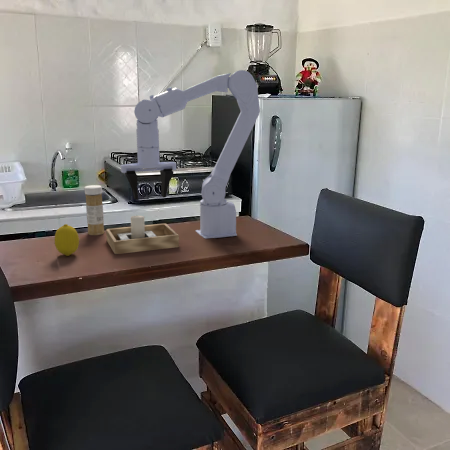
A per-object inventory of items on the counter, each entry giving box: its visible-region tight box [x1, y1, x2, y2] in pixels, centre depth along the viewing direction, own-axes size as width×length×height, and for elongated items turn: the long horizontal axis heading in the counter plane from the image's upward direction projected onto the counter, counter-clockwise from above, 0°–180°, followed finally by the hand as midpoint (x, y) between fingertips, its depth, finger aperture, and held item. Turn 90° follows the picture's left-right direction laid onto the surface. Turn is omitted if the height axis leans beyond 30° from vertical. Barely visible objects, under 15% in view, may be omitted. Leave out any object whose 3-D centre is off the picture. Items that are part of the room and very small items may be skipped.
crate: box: [105, 223, 180, 255], centre depth 129 cm, size 16×12×4 cm
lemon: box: [54, 223, 80, 257], centre depth 119 cm, size 6×6×8 cm
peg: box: [130, 215, 146, 239], centre depth 128 cm, size 3×3×7 cm
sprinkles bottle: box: [84, 184, 106, 236], centre depth 137 cm, size 5×5×14 cm
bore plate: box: [117, 230, 157, 241], centre depth 129 cm, size 9×9×2 cm
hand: (150, 197), depth 136 cm, fingers open, 7 cm apart
